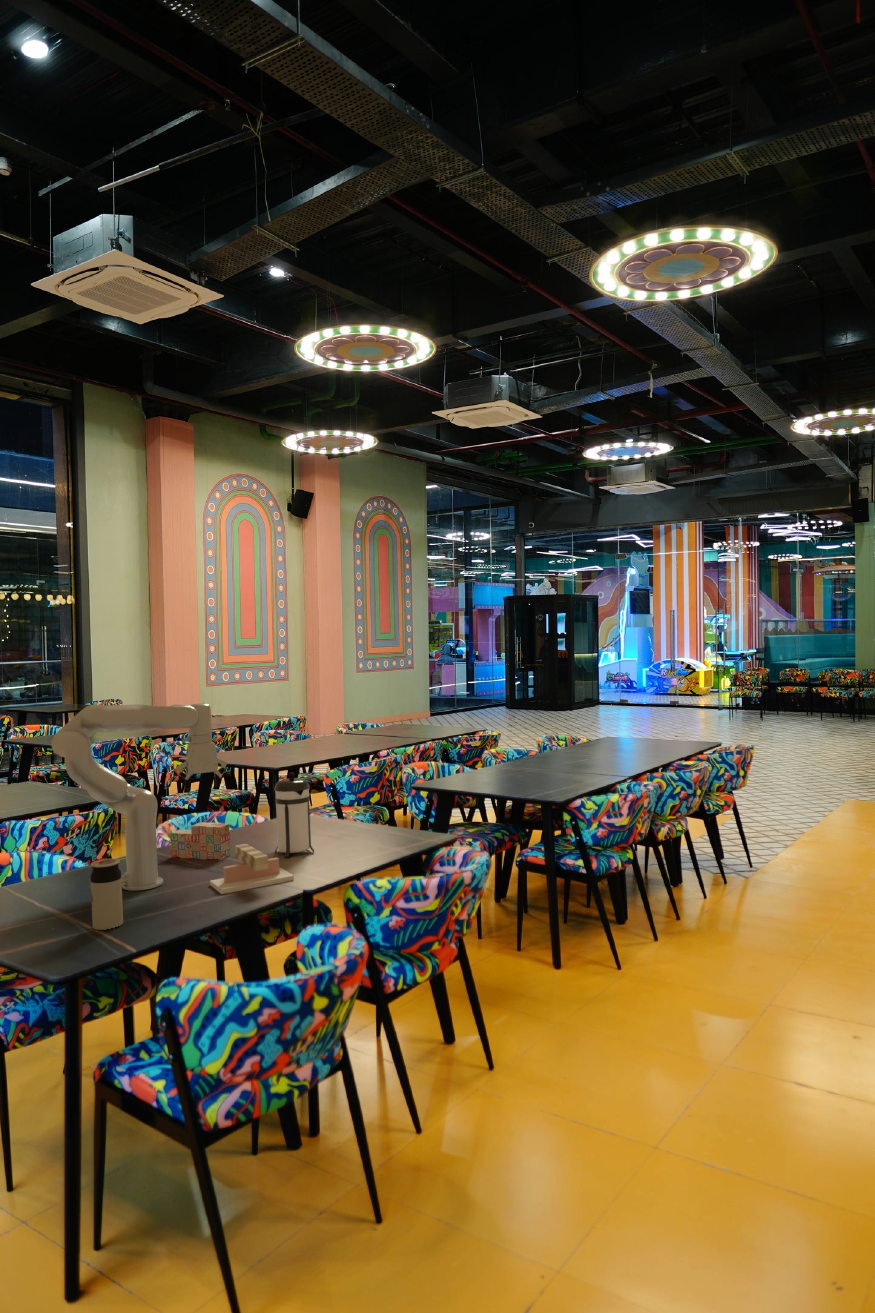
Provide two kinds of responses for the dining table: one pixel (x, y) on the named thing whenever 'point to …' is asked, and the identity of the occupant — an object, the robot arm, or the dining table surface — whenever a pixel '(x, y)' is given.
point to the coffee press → (293, 815)
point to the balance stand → (250, 877)
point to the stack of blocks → (202, 841)
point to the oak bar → (251, 857)
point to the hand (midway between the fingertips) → (202, 789)
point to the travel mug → (106, 894)
